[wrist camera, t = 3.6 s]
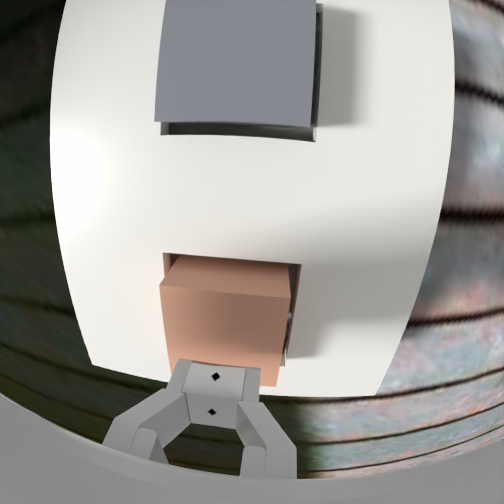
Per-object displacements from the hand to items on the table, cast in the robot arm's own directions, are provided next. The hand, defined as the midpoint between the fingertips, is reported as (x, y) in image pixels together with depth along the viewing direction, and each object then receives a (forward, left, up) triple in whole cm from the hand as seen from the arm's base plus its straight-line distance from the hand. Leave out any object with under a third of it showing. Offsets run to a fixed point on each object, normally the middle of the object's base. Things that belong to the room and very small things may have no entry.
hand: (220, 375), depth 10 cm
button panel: (0, +6, -9) cm, 10 cm away
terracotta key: (0, 0, -6) cm, 6 cm away
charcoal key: (0, +11, -6) cm, 12 cm away
